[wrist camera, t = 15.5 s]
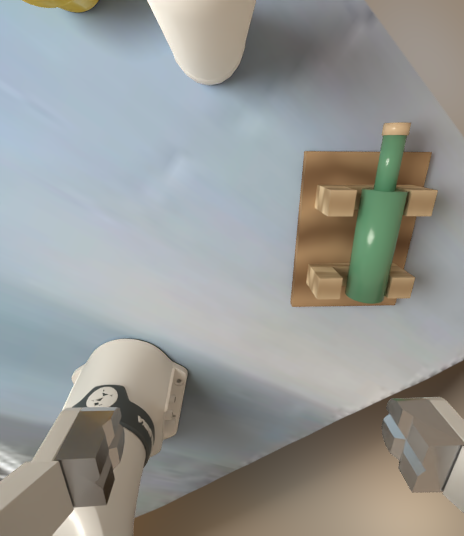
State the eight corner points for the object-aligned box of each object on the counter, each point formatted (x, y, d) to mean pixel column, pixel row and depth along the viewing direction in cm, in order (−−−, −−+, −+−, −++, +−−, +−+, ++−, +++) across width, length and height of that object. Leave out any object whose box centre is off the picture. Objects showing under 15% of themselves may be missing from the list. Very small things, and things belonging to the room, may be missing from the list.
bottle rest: (390, 301, 47) (415, 323, 42) (290, 302, 47) (301, 325, 41) (425, 152, 39) (462, 153, 33) (304, 151, 38) (320, 152, 33)
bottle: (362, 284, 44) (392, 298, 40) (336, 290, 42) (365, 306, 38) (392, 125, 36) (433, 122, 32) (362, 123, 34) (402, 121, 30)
